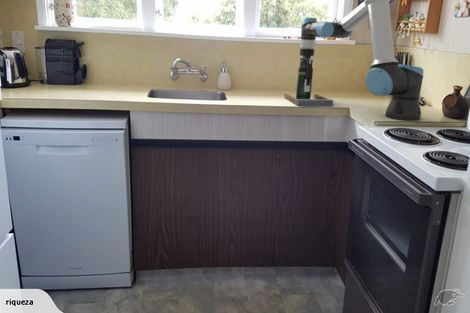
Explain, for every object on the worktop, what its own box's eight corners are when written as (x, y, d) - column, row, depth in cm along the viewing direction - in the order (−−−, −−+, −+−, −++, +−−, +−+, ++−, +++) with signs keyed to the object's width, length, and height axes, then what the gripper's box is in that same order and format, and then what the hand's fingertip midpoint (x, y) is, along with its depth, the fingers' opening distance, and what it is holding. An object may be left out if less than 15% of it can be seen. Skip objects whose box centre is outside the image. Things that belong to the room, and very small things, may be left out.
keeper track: (331, 105, 218) (331, 100, 218) (296, 105, 216) (296, 100, 215) (315, 98, 241) (316, 93, 240) (284, 97, 238) (284, 93, 238)
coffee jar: (309, 101, 229) (312, 66, 223) (295, 100, 230) (297, 65, 225) (311, 98, 238) (314, 65, 232) (297, 97, 239) (299, 64, 234)
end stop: (332, 106, 216) (333, 100, 215) (297, 106, 213) (298, 100, 212) (330, 105, 219) (331, 99, 218) (296, 104, 216) (296, 99, 215)
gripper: (321, 49, 216) (317, 93, 223) (307, 47, 237) (304, 87, 244) (306, 49, 215) (303, 93, 222) (294, 47, 236) (291, 87, 242)
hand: (303, 90), depth 233 cm, fingers closed on coffee jar, 9 cm apart
